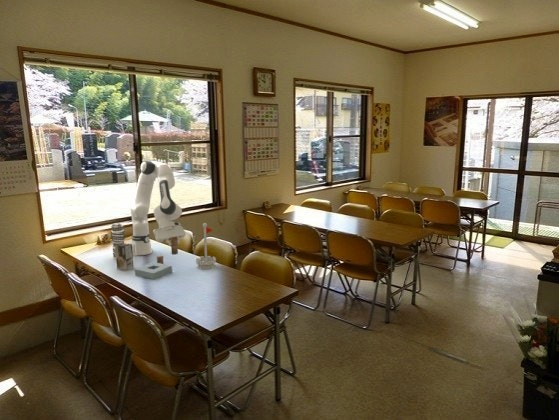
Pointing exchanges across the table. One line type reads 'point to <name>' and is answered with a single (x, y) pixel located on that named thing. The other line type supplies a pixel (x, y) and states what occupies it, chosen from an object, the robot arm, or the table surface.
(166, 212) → the robot arm
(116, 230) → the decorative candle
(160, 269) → the bored board
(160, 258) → the short pin
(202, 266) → the flag stand
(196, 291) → the table surface
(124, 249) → the coffee box
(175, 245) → the long pin
